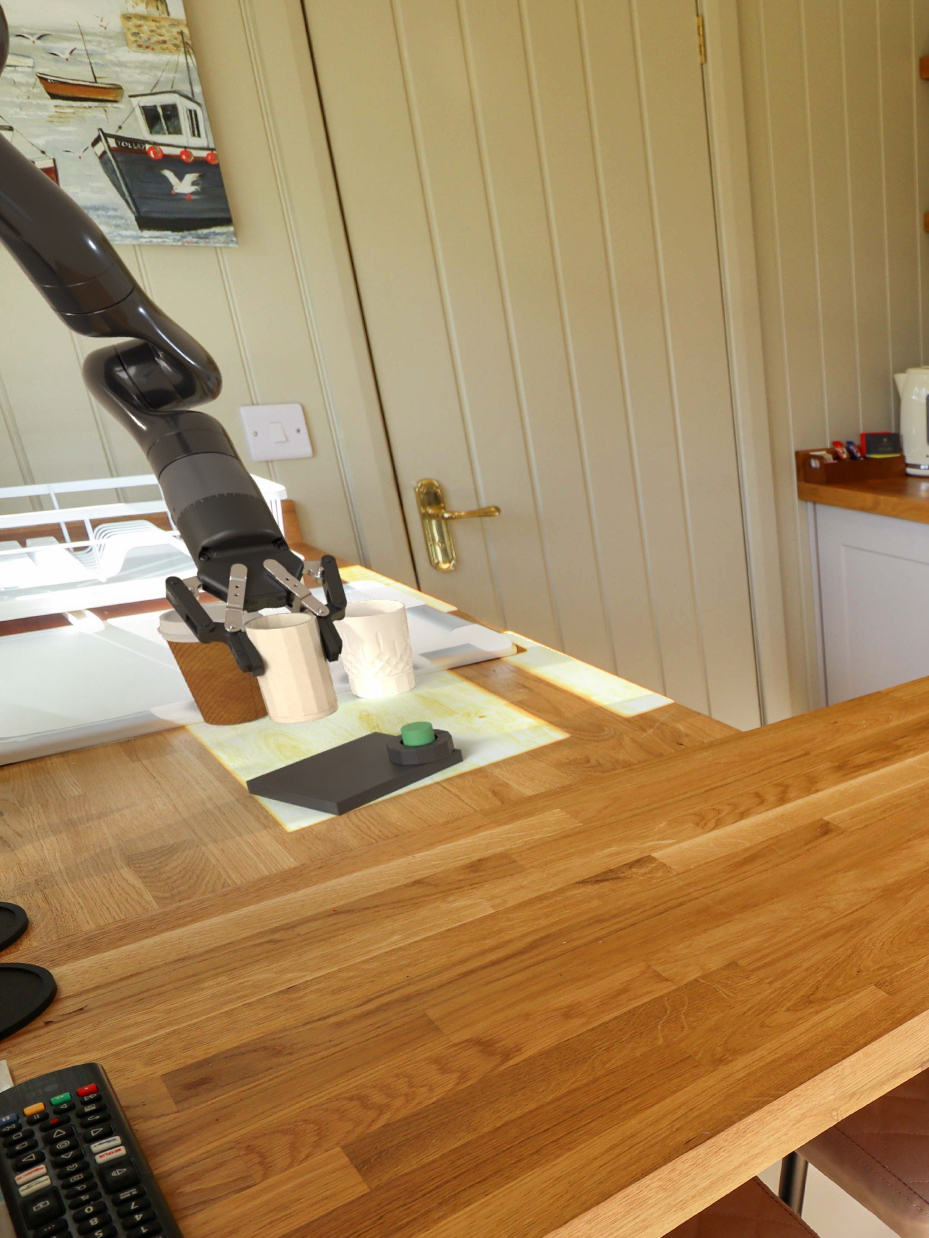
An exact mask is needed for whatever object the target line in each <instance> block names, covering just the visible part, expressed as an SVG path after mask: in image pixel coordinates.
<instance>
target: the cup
mask: <svg viewBox="0 0 929 1238" xmlns="http://www.w3.org/2000/svg"><path fill="white" fill-rule="evenodd" d="M243 628H244V631H246V633H247V636H248V637H249V639H250V640H251V642H252V645H253V647H254V649H255V651H256V653H257V655H258V657H259V659H260V661H261V663H262V667H263V670H262V676H259V677H257V678H258V682H259V685H260V689H261V692H262V696H263V699H264V703H265V706H266V710H267V713H268V715H267V716H268V718H269V720H270V721H272V722H273V723H277V724H301V723H306V722H307V723H309V722H312V721H317V720H321V719H323V718H326V717H329V716H331V715H333V714H335V713H336V712H337V711H338V710H339V704H338V696H337V692H336V689H335V686H334V681H333V678H332V677H333V676H332V673H331V670H330V665H329V661H328V660H327V657H326V653H325V649H324V645H323V641H322V637H321V634H320V630H319V626H318V622H317V618H316V616H315V615H313V614H309V613H292V612H281V613H280V612H279V613H274V614H273V613H272V614H267V615H263V616H262V617H258V618H254V619H252V620H250V621H247V622H245V623H244V625H243Z"/></svg>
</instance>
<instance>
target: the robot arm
mask: <svg viewBox="0 0 929 1238" xmlns="http://www.w3.org/2000/svg"><path fill="white" fill-rule="evenodd" d="M10 39H11V38H10V28H9V22H8V19H7V16H6V13H5V11H4V7H3V5H2V4H1V3H0V78H1V76H2V74H3V73H4V71H5V68H6V67H7V61H8V59H9V58H8V57H9V53H10ZM0 244H1V246H3V248H4V249H5V251H6V252H7V253H8V254H9V256H10V257H11V258H12V260H14V262H15V263H16V264H17V266H18V267H19V269H20V270H21V271H22V273H23V274H24V275H25V276H26V278H27V279H28V280H29V282H30V283H31V284H32V286H33V287H34V288H35V289H36V291H37V292H38V293H39V295H40V296H41V297H42V299H43V300H44V301H45V302H46V303H47V305H48V307H49V308H50V309H51V310H52V312H53V313H54V314H55V315H56V317H57V318H58V319H59V321H60V322H61V323H62V324H63V325H64V326H66V328H68V329H69V331H71V332H73V333H75V334H77V335H80V336H83V337H87V338H93V339H104V338H105V339H107V338H108V339H111V338H133V339H128V340H125V341H121V342H117V343H113V344H109V345H106V346H102V347H99V348H96V349H94V350H92V351H90V352H89V353H88V354H86V356H85V357H84V359H83V362H82V365H81V377H82V380H83V384H84V385H85V387H86V389H87V390H88V392H89V393H90V395H91V396H92V397H93V398H94V400H95V401H96V402H97V403H98V404H99V405H100V406H101V407H102V408H103V409H104V410H105V411H106V412H107V413H108V414H109V415H110V416H111V417H112V418H113V419H115V421H117V423H119V424H120V425H121V426H122V427H123V428H124V430H125V431H127V433H128V434H129V435H130V436H131V437H132V439H133V440H134V441H135V443H136V444H137V445H138V446H139V448H140V449H141V452H142V453H143V455H144V456H145V458H146V460H147V462H148V464H149V466H150V468H151V471H152V472H153V474H154V476H155V478H156V481H157V483H158V485H159V487H160V489H161V492H162V496H163V500H164V502H165V506H166V508H167V510H168V512H169V514H170V520H171V521H172V523H173V526H175V527H176V528H177V531H178V532H179V535H180V537H181V538H182V540H183V543H184V544H185V547H186V548H187V551H188V553H189V555H190V557H191V560H192V561H193V563H194V565H195V567H196V569H197V572H196V575H194V576H190V577H187V578H182V579H181V578H180V577H179V576H175V575H171V576H168V577H166V578H165V581H164V584H165V599H166V600H167V601H168V602H169V604H170V606H172V608H173V610H174V609H175V610H176V612H177V613H178V614H179V616H180V617H181V618H182V619H183V621H184V622H185V623H186V625H187V626H188V627H189V629H190V630H191V631H192V632H193V634H194V635H195V636H196V638H197V639H198V640H199V641H200V642H201V643H203V644H210V643H212V642H222V643H225V644H226V645H227V646H228V647H229V649H230V651H231V653H232V655H233V657H234V659H235V661H236V663H237V665H238V667H239V669H240V670H241V671H242V672H244V673H247V672H250V674H251V676H252V677H253V678H254V677H259V676H262V670H263V667H262V663H261V661H260V659H259V657H258V655H257V653H256V651H255V649H254V647H253V645H252V642H251V640H250V639H249V637H248V636H247V633H246V631H244V632H242V623H243V615H244V611H247V613H251V612H257V611H258V612H260V611H262V610H265V609H280V608H286V610H288V611H289V612H290V613H309V614H313V615H315V616H316V618H317V622H318V626H319V630H320V634H321V637H322V641H323V645H324V649H325V653H326V657H327V661H328V663H334V662H338V661H339V658H340V654H341V652H342V647H343V641H342V639H341V637H340V635H339V633H338V631H337V629H336V627H335V625H334V624H333V622H334V621H336V620H337V621H340V620H343V619H344V618H345V610H346V606H347V604H348V600H347V596H346V591H345V588H344V584H343V580H342V577H341V574H340V570H339V566H338V563H337V559H336V557H335V556H333V555H331V554H324V555H322V556H321V557H320V560H318V559H317V560H302V558H301V557H300V556H298V555H296V554H295V553H294V552H293V551H292V550H291V548H290V547H289V544H288V542H287V539H285V536H284V534H283V532H282V530H281V528H280V526H279V524H278V522H277V521H276V519H275V517H274V515H273V513H272V510H271V509H270V507H269V505H268V503H267V501H266V499H265V497H264V495H263V492H262V491H261V488H260V487H259V486H258V483H257V482H256V481H255V479H254V477H252V475H251V474H250V472H249V471H248V469H247V468H246V466H245V464H244V462H243V460H242V458H241V457H240V454H239V453H238V451H237V448H236V447H235V445H234V442H233V440H232V438H231V437H230V434H229V432H228V431H227V429H226V428H225V426H224V425H223V424H222V423H221V422H220V420H218V419H217V418H216V417H214V416H213V415H210V414H209V413H206V412H202V411H199V410H191V409H195V408H199V407H202V406H205V405H208V404H211V403H212V402H214V401H216V400H218V398H219V397H220V395H221V393H222V390H223V382H224V380H223V376H222V375H223V374H222V372H221V370H220V367H219V365H218V363H217V361H216V360H215V359H214V357H213V356H212V355H211V354H210V352H209V351H208V350H207V349H206V347H204V346H203V345H202V344H201V343H200V342H199V341H198V340H197V339H196V338H195V337H194V336H193V335H192V334H190V333H189V332H188V331H187V330H186V329H185V328H183V327H182V326H181V325H180V324H179V323H178V322H176V321H175V320H174V319H173V318H172V317H170V316H169V315H168V314H167V313H166V312H165V311H164V310H163V309H162V308H161V307H159V305H158V304H156V302H155V301H154V300H153V299H152V298H151V297H150V296H149V295H148V294H147V292H145V290H144V289H143V288H142V286H141V285H140V283H139V282H138V281H137V279H136V278H135V277H134V275H133V273H132V272H131V270H130V269H129V268H128V266H127V265H126V263H125V261H124V259H122V257H121V256H120V254H119V253H118V252H117V250H116V249H115V247H114V245H113V243H112V242H111V241H110V240H109V238H108V237H107V235H106V234H105V233H104V231H103V230H102V229H101V227H100V226H99V225H98V224H97V223H96V221H95V220H93V218H92V217H91V216H90V215H89V214H88V213H87V212H86V211H85V210H84V208H82V206H81V205H79V204H78V203H77V201H75V199H73V198H72V197H71V196H70V195H69V194H68V192H66V191H65V190H64V189H63V188H62V187H60V186H59V185H58V184H57V183H56V182H55V181H54V180H53V179H52V178H51V177H49V176H48V175H47V174H46V173H45V172H44V171H42V169H40V168H39V167H38V166H37V165H36V164H35V163H34V162H32V160H30V159H29V158H28V157H27V156H26V155H24V154H23V152H21V151H20V150H19V149H18V147H16V146H15V145H14V144H13V143H12V142H11V141H9V139H8V138H7V137H6V136H4V134H3V133H2V132H1V131H0ZM303 575H307V576H310V577H311V579H312V580H313V582H315V583H316V584H317V585H319V586H320V585H321V586H322V589H323V593H324V597H325V600H326V603H322V601H320V600H319V599H318V598H316V596H314V595H313V593H312V591H311V590H310V589H309V588H308V587H307V586H306V585H305V584H303V583H302V582H301V581H302V579H303V577H304V576H303ZM201 590H202V591H203V592H205V593H207V594H209V595H210V596H212V597H214V598H216V599H218V600H219V601H220V602H225V603H227V607H226V616H225V623H224V622H213V620H212V619H211V618H210V616H209V615H208V614H207V612H206V611H205V610H204V609H203V607H202V606H201V605H200V604H201V602H199V601H200V591H201Z"/></svg>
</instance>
